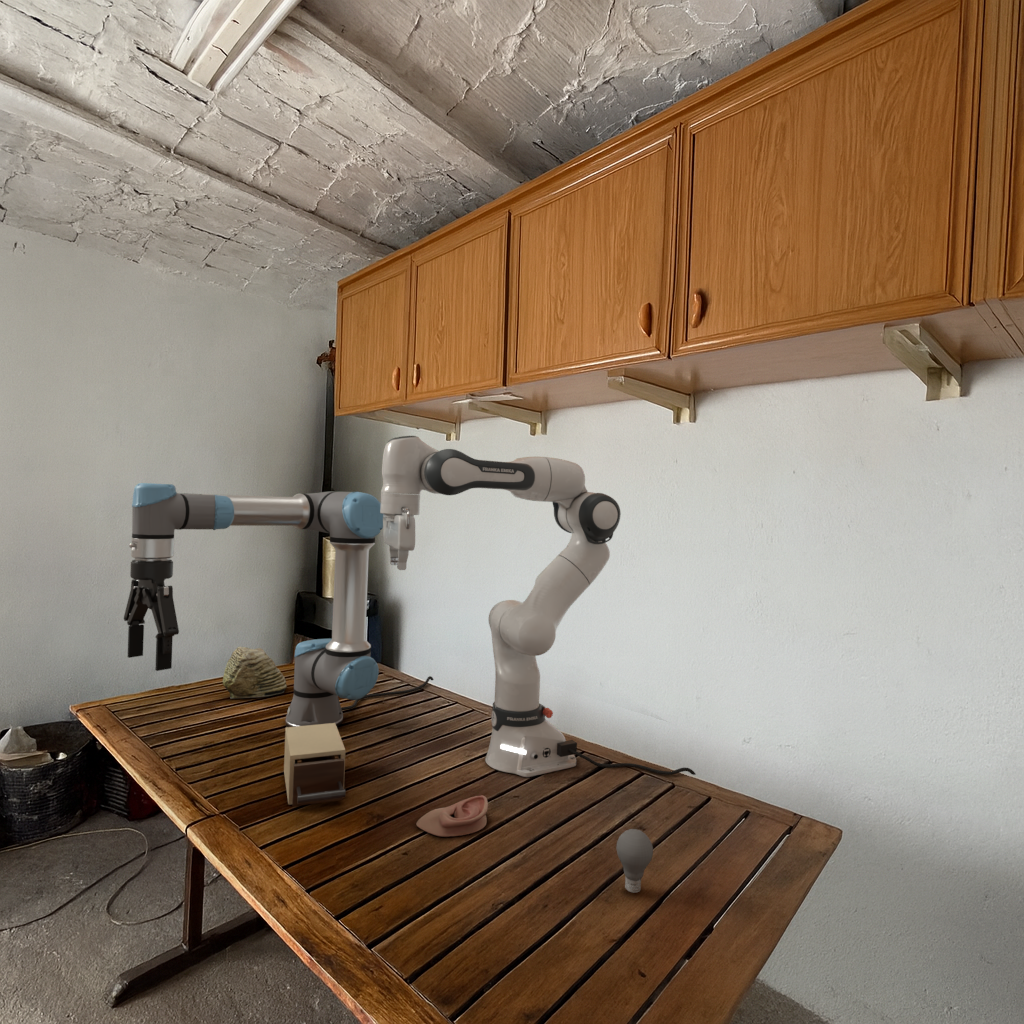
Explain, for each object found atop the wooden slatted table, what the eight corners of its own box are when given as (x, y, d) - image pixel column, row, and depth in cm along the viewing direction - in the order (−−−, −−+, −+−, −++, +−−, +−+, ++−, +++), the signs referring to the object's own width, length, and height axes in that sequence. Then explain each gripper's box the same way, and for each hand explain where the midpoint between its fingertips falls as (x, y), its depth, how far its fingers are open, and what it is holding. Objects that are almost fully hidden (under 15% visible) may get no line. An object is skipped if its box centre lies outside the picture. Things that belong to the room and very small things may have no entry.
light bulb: (610, 879, 108) (613, 822, 108) (644, 879, 109) (647, 822, 109) (619, 902, 102) (622, 840, 102) (655, 901, 103) (658, 840, 103)
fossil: (218, 695, 195) (220, 647, 195) (278, 685, 208) (279, 640, 207) (228, 703, 189) (230, 653, 188) (289, 692, 201) (290, 645, 201)
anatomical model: (411, 811, 121) (430, 785, 132) (410, 832, 121) (430, 804, 132) (478, 821, 118) (492, 794, 129) (477, 842, 118) (492, 813, 129)
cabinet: (343, 797, 134) (345, 749, 134) (288, 804, 130) (290, 755, 130) (333, 765, 149) (335, 722, 149) (283, 771, 145) (285, 727, 145)
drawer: (347, 813, 126) (348, 771, 125) (294, 820, 122) (296, 778, 122) (333, 769, 145) (334, 733, 145) (287, 774, 141) (289, 738, 141)
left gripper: (108, 554, 134) (105, 654, 134) (159, 566, 118) (155, 679, 119) (146, 552, 140) (143, 648, 140) (199, 563, 124) (196, 671, 124)
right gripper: (423, 508, 136) (421, 572, 136) (405, 506, 155) (403, 562, 155) (394, 507, 133) (391, 572, 134) (379, 505, 153) (377, 562, 153)
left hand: (148, 662), depth 129 cm, fingers open, 13 cm apart
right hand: (397, 567), depth 145 cm, fingers open, 8 cm apart
